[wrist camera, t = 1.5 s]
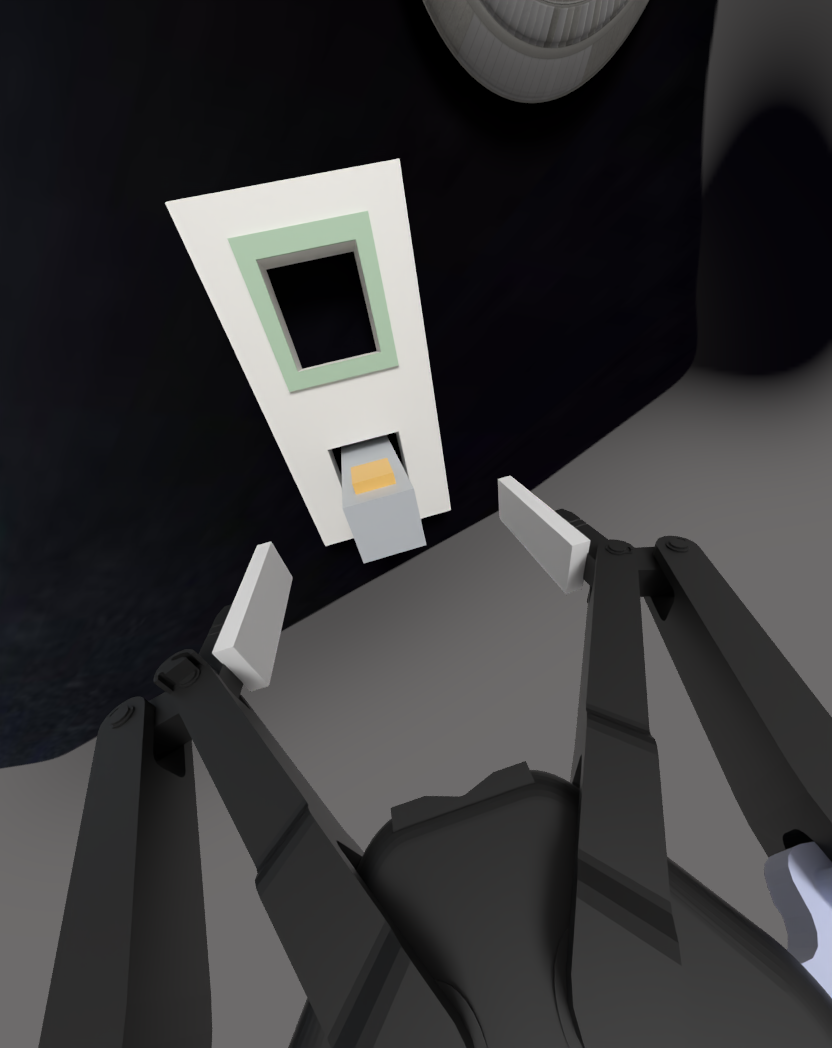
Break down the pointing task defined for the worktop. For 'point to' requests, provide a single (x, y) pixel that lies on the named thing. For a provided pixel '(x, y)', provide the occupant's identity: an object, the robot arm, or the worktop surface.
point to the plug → (379, 500)
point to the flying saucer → (534, 41)
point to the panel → (267, 349)
